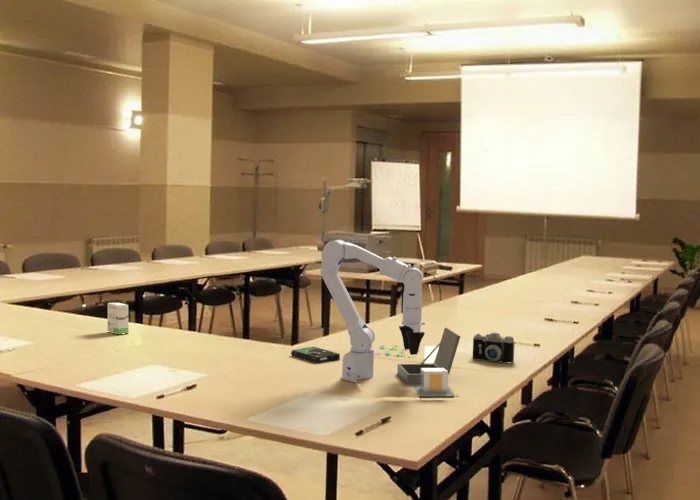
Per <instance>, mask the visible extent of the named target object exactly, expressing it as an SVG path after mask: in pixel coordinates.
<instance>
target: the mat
mask: <svg viewBox="0 0 700 500" xmlns="http://www.w3.org/2000/svg"><path fill="white" fill-rule="evenodd" d="M412 388H413V389H414V390H415V391H416V392H417V393H418V394H419V395H418V396H417V397H418V398H419V399H455V394H454V392H452V391H451V390H450V389H449V388H448V387H447V392H423V391H422V390H421V389H420V385H412Z"/></svg>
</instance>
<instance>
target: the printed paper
mask: <svg viewBox="0 0 700 500" xmlns="http://www.w3.org/2000/svg"><path fill="white" fill-rule="evenodd" d="M436 346H437V345H436ZM436 346H435V345H431V346H430V345H425V346H424V359H425V358H426V357H427V356H428V355H429V354H430V353H431V351H432V350H433V349H434V348H435V347H436ZM398 348H400V347H399V346H398V345H397V344H394V345H393V347H389V350H387V351H386V352H385V353H384V355H386V356H389V355H391V350H392V351H397V350H398ZM379 349H381V350H383V349H386V346H385V344H381V346H380V347H379ZM438 349H439V347H438V348H437V349H436V350H435V351H434V352H433V353H432V354H431V355H430V357H429V358H428V359H427V360H426V361H425V362H424V364H433V363H434V362H435V359H436V355H437V352H438ZM404 351H405V352H406V351H409V349H405V348H403V349H402V350H400V351H399V352H398V353H397V354H396V353H395V354H394V353H393V356H397V357H398V358H401V357H402V356H403V357H404V356H406V354H405V353H404ZM418 352H420V349H419V350H418ZM382 354H383V353H382ZM382 354H381V352H380V351H379V350H378V351H376V352H375V356H380V355H382ZM408 357H409V358H415V357H416V355H411V354H409V355H408V356H407V358H408Z"/></svg>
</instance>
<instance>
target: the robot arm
mask: <svg viewBox="0 0 700 500" xmlns="http://www.w3.org/2000/svg"><path fill="white" fill-rule="evenodd" d="M320 257H321V261H320V262H321V263H320V276H321V277H322V280H323V281H324V284H325V285H326V287H327V289H328V291H329V293H330V295H331V297H332V298H333V301H334V303H335V305H336V307H337V309H338V311H339V313H340V315H341V317H342V319H343V320H344V322H345V324H346V328H347V333H348V335H349V340H350V346H351V347H350V350H349V352H345V354H344V355H343V357H342V368H341V369H342V371H341V372H342V373H341V374H342V375H341V376H340V377H339V378H340V379H342V380H345V381H349V382H353V383H355V384H360V381H359V380H363V379H371V378H373V377H374V363H375V362H374V359H375V348H374V347H373V345H372V344H373V342H375V338H376V337H375V332H374V330H373V329H372V328H371V327H370V326H368V325H367V323H366V321H365V320H364V319H363V318H362V317H361V315H360V313H359V311H358V309H357V306H356V305H355V303H354V301H353V299H352V297H351V296H350V293H349V292H348V290H347V288H346V286H345V283H344V282H343V280H342V278H341V276H340V274H339V270H340V267H341V265H342V262H343V261H344V260H349V259H357V260H360V261H361V262H364V263H366V264H368V265H371V266H374V267H376V268H378V269H379V270H380V273H381V274H382V275H383V276H385V277H388V278H390V279H392V280H395V281H396V282H399V283H401V282H402V283H403V286H404V287H403V288H404V289H403V294H402V297H403V299H402V321H401V326H400V325H399V326H398V327H399V328H398V329H399V331H400V332H401V337H402V342H403V349H408V351H409V355H412V356H416V355H418V353H419V351H420V345H421V342H422V340H423V337H424V336H425V334H426V333H425V332H424V331H421V326H423V325H425V324H426V322H425V321H422V308H423V292H422V291H423V286H422V284H423V281H424V273H423V272H422V271H421V269H419V268H418V267H415V266H412V265H411V264H410V263H408V264H406V263H404V262H402V261H400V260H398V258H397V257H396V256H393V257H391V256H388V257H385V258H383V257H381V256H379V255H377V254H375V253H374V252H372V251H369V250H367V249H365V248H363V247H361V246H359V245H356V244H354V243H352V242H349V241H344V240H343V239H335V240H331V241H328V242H327V243H326V244H325V245H324V248H323V249H322V251H321V255H320ZM418 350H419V351H418Z"/></svg>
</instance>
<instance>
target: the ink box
mask: <svg viewBox="0 0 700 500" xmlns="http://www.w3.org/2000/svg"><path fill="white" fill-rule="evenodd" d="M107 331H110V332H113V333H116V334H122V333H128V334H129V304H125V303H121V302H108V303H107Z"/></svg>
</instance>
